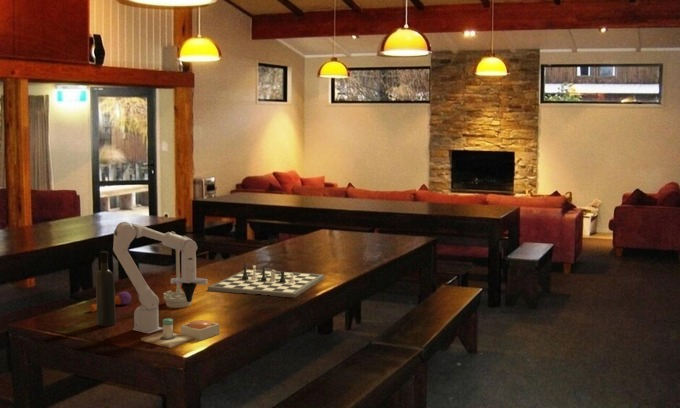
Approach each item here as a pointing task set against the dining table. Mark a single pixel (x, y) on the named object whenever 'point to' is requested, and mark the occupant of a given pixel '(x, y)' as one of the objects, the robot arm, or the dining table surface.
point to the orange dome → (200, 324)
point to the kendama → (116, 300)
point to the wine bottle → (105, 293)
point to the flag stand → (177, 297)
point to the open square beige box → (200, 331)
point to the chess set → (267, 282)
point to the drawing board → (167, 340)
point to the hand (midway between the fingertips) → (189, 301)
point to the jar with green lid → (167, 328)
